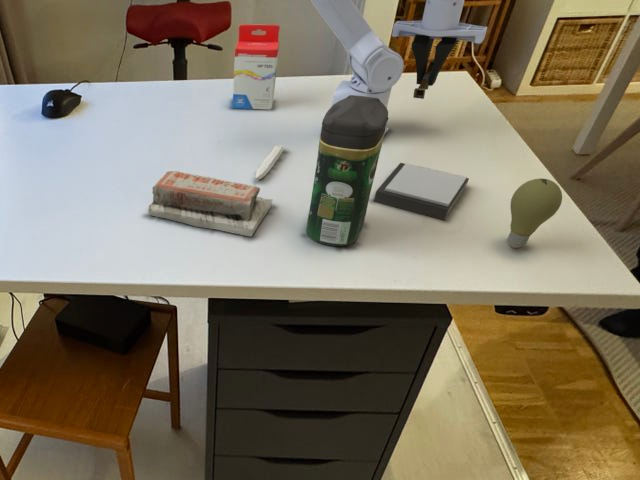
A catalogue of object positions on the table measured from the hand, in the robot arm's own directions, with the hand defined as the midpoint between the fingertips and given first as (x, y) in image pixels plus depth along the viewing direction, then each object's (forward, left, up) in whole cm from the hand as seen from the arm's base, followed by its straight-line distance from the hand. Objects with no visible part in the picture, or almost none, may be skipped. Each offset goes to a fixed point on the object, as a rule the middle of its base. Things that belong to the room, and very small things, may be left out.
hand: (425, 83), depth 98 cm
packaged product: (-18, -45, -9) cm, 49 cm away
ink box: (-33, -4, -9) cm, 34 cm away
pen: (-17, -27, -9) cm, 33 cm away
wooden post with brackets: (0, 0, -2) cm, 2 cm away
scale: (+9, -23, -8) cm, 26 cm away
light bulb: (+24, -31, -9) cm, 40 cm away
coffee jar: (+1, -40, -9) cm, 41 cm away
